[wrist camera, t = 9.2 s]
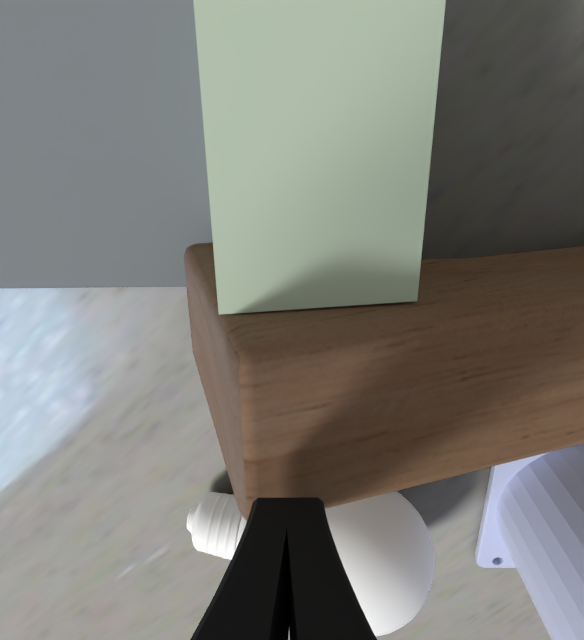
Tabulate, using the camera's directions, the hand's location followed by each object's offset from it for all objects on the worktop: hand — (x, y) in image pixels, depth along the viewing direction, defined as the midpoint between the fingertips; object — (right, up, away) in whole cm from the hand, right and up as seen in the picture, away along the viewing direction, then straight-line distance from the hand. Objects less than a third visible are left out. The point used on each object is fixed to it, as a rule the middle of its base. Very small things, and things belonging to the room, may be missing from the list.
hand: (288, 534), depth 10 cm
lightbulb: (-5, -5, +12) cm, 14 cm away
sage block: (-1, +11, +7) cm, 13 cm away
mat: (-8, +11, +7) cm, 15 cm away
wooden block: (-3, +3, +4) cm, 6 cm away
